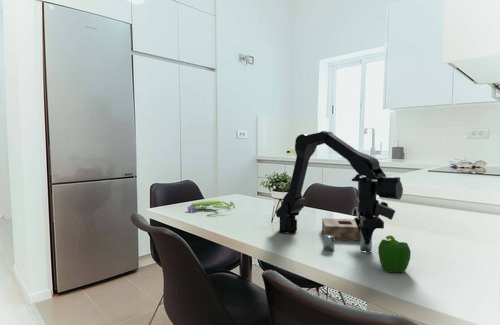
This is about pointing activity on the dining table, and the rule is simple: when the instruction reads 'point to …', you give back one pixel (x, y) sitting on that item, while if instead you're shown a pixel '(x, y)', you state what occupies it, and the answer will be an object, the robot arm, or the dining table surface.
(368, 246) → the tall steel pin
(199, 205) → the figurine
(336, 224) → the walnut hole block
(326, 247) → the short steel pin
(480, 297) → the dining table surface
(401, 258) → the bell pepper
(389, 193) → the robot arm
